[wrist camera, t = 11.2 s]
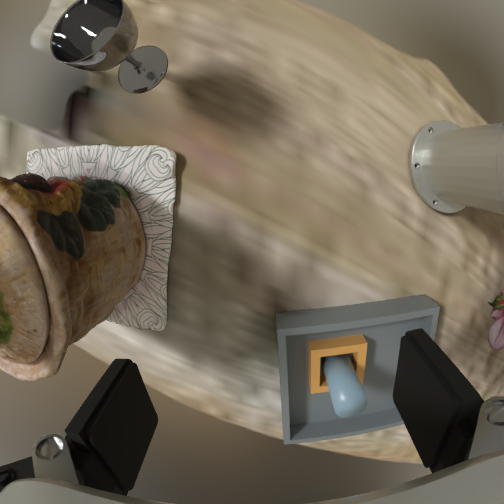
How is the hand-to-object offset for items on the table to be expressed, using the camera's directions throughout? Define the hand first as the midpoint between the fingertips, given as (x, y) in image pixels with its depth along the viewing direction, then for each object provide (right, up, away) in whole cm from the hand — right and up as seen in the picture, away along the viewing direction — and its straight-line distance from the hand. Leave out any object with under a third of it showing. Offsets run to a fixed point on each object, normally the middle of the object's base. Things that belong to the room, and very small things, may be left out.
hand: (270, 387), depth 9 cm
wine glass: (-15, +28, +22) cm, 39 cm away
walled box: (+14, -13, +32) cm, 37 cm away
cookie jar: (-23, +7, +28) cm, 37 cm away
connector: (+11, -11, +30) cm, 34 cm away
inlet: (+11, -10, +31) cm, 35 cm away
